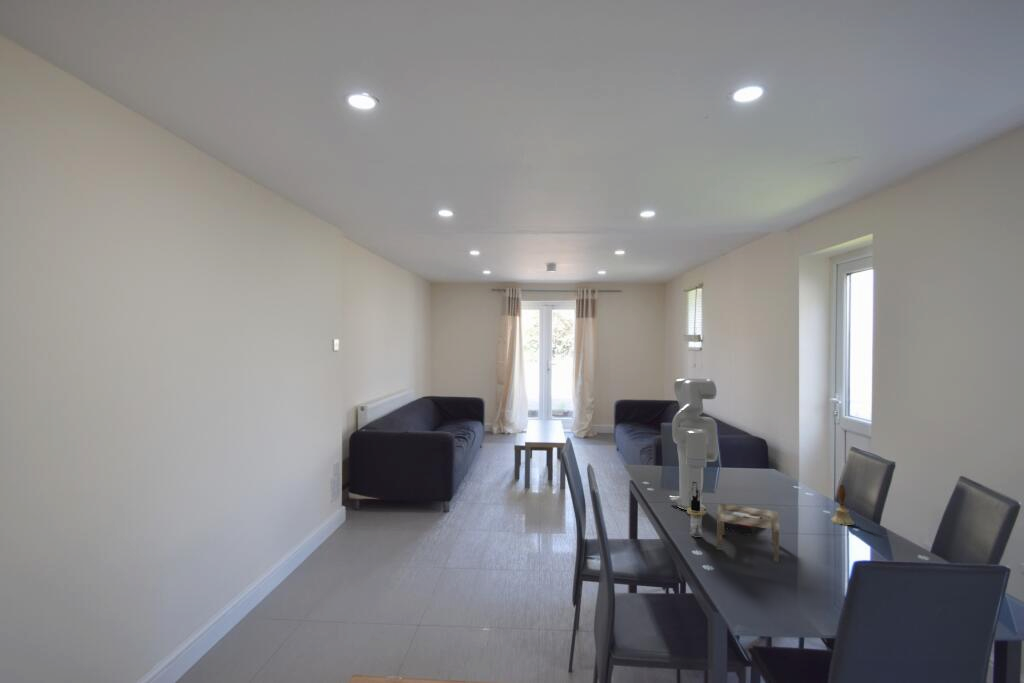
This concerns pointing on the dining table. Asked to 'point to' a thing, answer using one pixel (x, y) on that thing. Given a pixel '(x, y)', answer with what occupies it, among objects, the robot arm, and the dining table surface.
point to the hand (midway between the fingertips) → (696, 508)
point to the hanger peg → (696, 519)
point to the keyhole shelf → (749, 523)
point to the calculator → (740, 527)
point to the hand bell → (842, 510)
